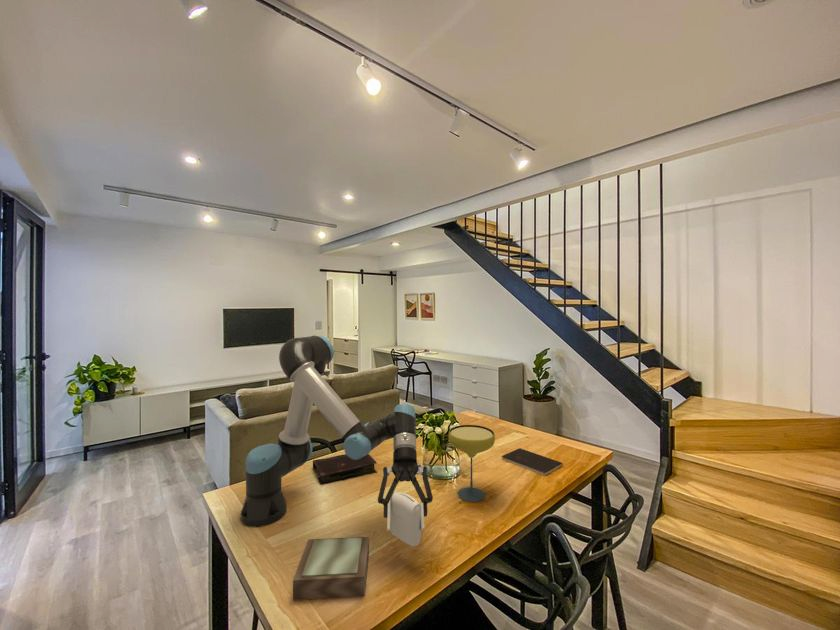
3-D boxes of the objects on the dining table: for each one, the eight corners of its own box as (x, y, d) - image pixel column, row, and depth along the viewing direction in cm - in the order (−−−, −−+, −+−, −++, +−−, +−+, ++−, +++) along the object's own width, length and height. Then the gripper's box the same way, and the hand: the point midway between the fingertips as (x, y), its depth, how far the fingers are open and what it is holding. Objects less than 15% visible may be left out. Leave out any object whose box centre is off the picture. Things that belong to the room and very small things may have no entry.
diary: (312, 469, 165) (312, 459, 165) (364, 459, 176) (364, 449, 176) (321, 487, 148) (321, 475, 148) (377, 474, 159) (377, 463, 159)
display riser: (293, 599, 90) (292, 578, 90) (308, 555, 106) (308, 538, 106) (364, 595, 92) (364, 575, 91) (369, 553, 107) (369, 535, 107)
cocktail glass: (502, 504, 134) (502, 438, 134) (456, 510, 130) (456, 442, 130) (483, 481, 152) (484, 423, 151) (443, 486, 148) (443, 426, 147)
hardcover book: (544, 477, 156) (544, 472, 156) (501, 460, 174) (501, 456, 174) (562, 467, 167) (562, 462, 167) (520, 452, 184) (520, 447, 184)
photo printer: (387, 532, 105) (388, 491, 105) (398, 526, 108) (398, 486, 108) (412, 549, 98) (413, 505, 98) (423, 542, 101) (423, 499, 101)
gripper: (370, 445, 112) (366, 527, 96) (439, 445, 113) (445, 525, 98) (371, 455, 117) (367, 534, 102) (436, 454, 119) (442, 532, 103)
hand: (405, 529), depth 100 cm, fingers closed on photo printer, 9 cm apart
